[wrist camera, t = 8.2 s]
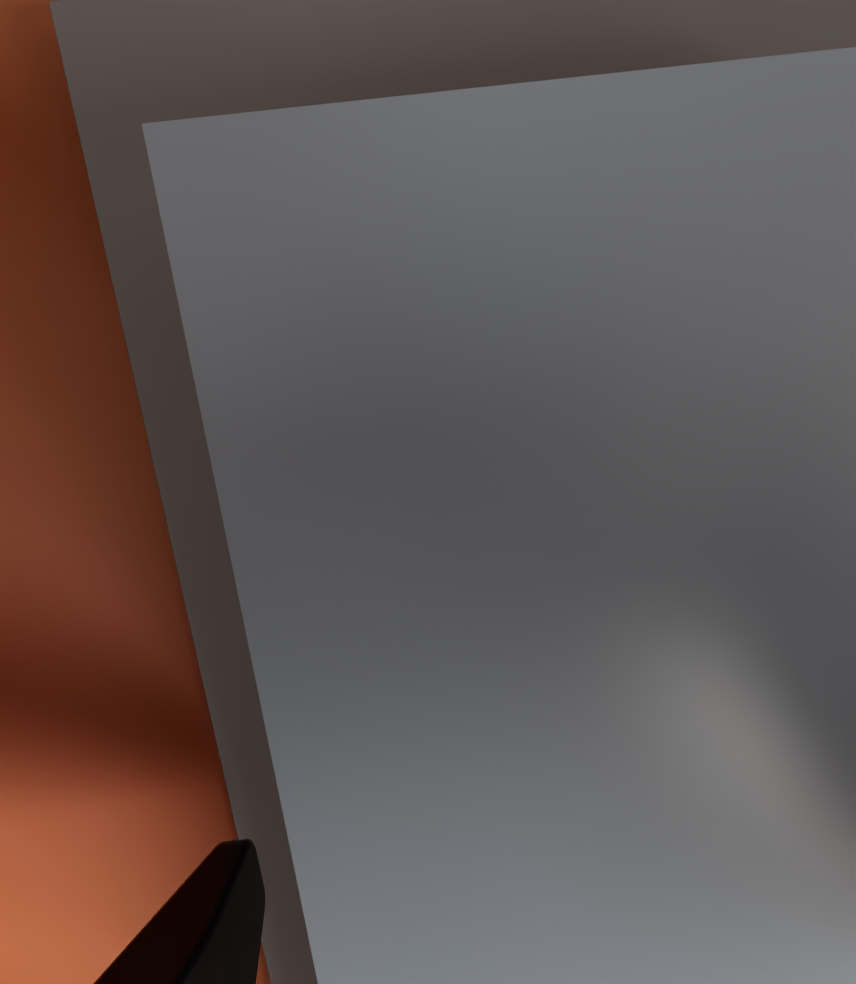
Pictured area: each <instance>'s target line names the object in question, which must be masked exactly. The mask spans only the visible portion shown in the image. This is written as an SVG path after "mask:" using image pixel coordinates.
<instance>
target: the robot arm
mask: <svg viewBox="0 0 856 984" xmlns="http://www.w3.org/2000/svg"><path fill="white" fill-rule="evenodd" d="M264 913H265V888H264V883H263V878H262V874H261V869H260V865H259V860H258V856H257V851H256V847H255V845H254V843H253V841H252V840H250V839H240V840H232V841H224V842H221V843H220V844H218V845H217V846H216V847H215V848H214V849H213V850H212V851H211V852H210V854H209V855H208V856H207V857H206V858H205V859H204V860H203V861H202V863H201V864H200V865H199V866H198V867H197V868H196V869H195V870H194V872H193V873H192V874H191V875H190V876H189V877H188V878H187V879H186V880H185V882H184V883H183V884H182V885H181V886H180V887H179V888H178V889H177V891H176V892H175V893H174V894H173V895H172V896H171V897H170V898H169V900H168V901H167V902H166V903H165V904H164V905H163V906H162V907H161V909H160V910H159V911H158V912H157V913H156V914H155V915H154V916H153V917H152V919H151V920H150V921H149V922H148V923H147V924H146V925H145V926H144V928H143V929H142V930H141V931H140V932H139V933H138V934H137V935H136V937H135V938H134V939H133V940H132V941H131V942H130V943H129V944H128V945H127V947H126V948H125V949H124V950H123V951H122V952H121V953H120V954H119V956H118V957H117V958H116V959H115V960H114V961H113V962H112V963H111V965H110V966H109V967H108V968H107V969H106V970H105V971H104V972H103V974H102V975H101V976H100V977H99V978H98V979H97V980H96V981H95V982H94V984H256V976H257V968H258V960H259V952H260V944H261V937H262V929H263V921H264Z"/></svg>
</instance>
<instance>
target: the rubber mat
mask: <svg viewBox="0 0 856 984" xmlns="http://www.w3.org/2000/svg"><path fill="white" fill-rule="evenodd" d="M49 5H50V9H51V14H52V18H53V23H54V27H55V32H56V36H57V40H58V45H59V49H60V54H61V58H62V62H63V67H64V71H65V76H66V80H67V85H68V89H69V93H70V98H71V102H72V107H73V111H74V115H75V120H76V124H77V129H78V133H79V138H80V142H81V146H82V151H83V155H84V160H85V164H86V169H87V173H88V177H89V182H90V186H91V191H92V195H93V199H94V204H95V208H96V213H97V217H98V222H99V226H100V230H101V235H102V239H103V244H104V248H105V252H106V257H107V261H108V266H109V270H110V275H111V279H112V283H113V288H114V292H115V297H116V301H117V306H118V310H119V314H120V319H121V323H122V328H123V332H124V336H125V341H126V345H127V350H128V354H129V359H130V363H131V367H132V372H133V376H134V381H135V385H136V389H137V394H138V398H139V403H140V407H141V412H142V416H143V420H144V425H145V429H146V434H147V438H148V442H149V447H150V451H151V456H152V460H153V465H154V469H155V473H156V478H157V482H158V487H159V491H160V496H161V500H162V504H163V509H164V513H165V518H166V522H167V526H168V531H169V535H170V540H171V544H172V549H173V553H174V557H175V562H176V566H177V571H178V575H179V580H180V584H181V588H182V593H183V597H184V602H185V606H186V610H187V615H188V619H189V624H190V628H191V633H192V637H193V641H194V646H195V650H196V655H197V659H198V663H199V668H200V672H201V677H202V681H203V686H204V690H205V694H206V699H207V703H208V708H209V712H210V717H211V721H212V725H213V730H214V734H215V739H216V743H217V747H218V752H219V756H220V761H221V765H222V770H223V774H224V778H225V783H226V787H227V792H228V796H229V800H230V805H231V809H232V814H233V818H234V823H235V827H236V831H237V836H238V840H240V839H250V840H252V841H253V843H254V845H255V847H256V851H257V856H258V860H259V865H260V869H261V874H262V878H263V883H264V888H265V913H264V921H263V929H262V937H261V942H262V946H263V951H264V955H265V960H266V964H267V968H268V973H269V977H270V982H271V984H318V982H317V977H316V972H315V967H314V962H313V957H312V952H311V948H310V943H309V938H308V933H307V928H306V923H305V918H304V913H303V909H302V904H301V899H300V894H299V889H298V884H297V879H296V874H295V870H294V865H293V860H292V855H291V850H290V845H289V840H288V835H287V831H286V826H285V821H284V816H283V811H282V806H281V801H280V796H279V792H278V787H277V782H276V777H275V772H274V767H273V762H272V757H271V753H270V748H269V743H268V738H267V733H266V728H265V723H264V718H263V714H262V709H261V704H260V699H259V694H258V689H257V684H256V679H255V675H254V670H253V665H252V660H251V655H250V650H249V645H248V640H247V636H246V631H245V626H244V621H243V616H242V611H241V606H240V601H239V597H238V592H237V587H236V582H235V577H234V572H233V567H232V562H231V558H230V553H229V548H228V543H227V538H226V533H225V528H224V523H223V518H222V514H221V509H220V504H219V499H218V494H217V489H216V484H215V479H214V475H213V470H212V465H211V460H210V455H209V450H208V445H207V440H206V436H205V431H204V426H203V421H202V416H201V411H200V406H199V401H198V397H197V392H196V387H195V382H194V377H193V372H192V367H191V362H190V358H189V353H188V348H187V343H186V338H185V333H184V328H183V323H182V319H181V314H180V309H179V304H178V299H177V294H176V289H175V284H174V280H173V275H172V270H171V265H170V260H169V255H168V250H167V245H166V241H165V236H164V231H163V226H162V221H161V216H160V211H159V206H158V202H157V197H156V192H155V187H154V182H153V177H152V172H151V167H150V162H149V158H148V153H147V148H146V143H145V138H144V133H143V128H142V124H143V123H152V122H162V121H171V120H180V119H189V118H199V117H208V116H217V115H227V114H236V113H245V112H255V111H264V110H273V109H283V108H292V107H301V106H311V105H320V104H329V103H338V102H348V101H357V100H366V99H376V98H385V97H394V96H404V95H413V94H422V93H432V92H441V91H450V90H460V89H469V88H478V87H487V86H497V85H506V84H515V83H525V82H534V81H543V80H553V79H562V78H571V77H581V76H590V75H599V74H608V73H618V72H627V71H636V70H646V69H655V68H664V67H674V66H683V65H692V64H702V63H711V62H720V61H729V60H739V59H748V58H757V57H767V56H776V55H785V54H795V53H804V52H813V51H823V50H832V49H841V48H851V47H856V0H57V1H49Z"/></svg>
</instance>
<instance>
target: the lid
mask: <svg viewBox="0 0 856 984" xmlns="http://www.w3.org/2000/svg"><path fill="white" fill-rule="evenodd" d="M142 128H143V133H144V138H145V143H146V148H147V153H148V158H149V162H150V167H151V172H152V177H153V182H154V187H155V192H156V197H157V202H158V206H159V211H160V216H161V221H162V226H163V231H164V236H165V241H166V245H167V250H168V255H169V260H170V265H171V270H172V275H173V280H174V284H175V289H176V294H177V299H178V304H179V309H180V314H181V319H182V323H183V328H184V333H185V338H186V343H187V348H188V353H189V358H190V362H191V367H192V372H193V377H194V382H195V387H196V392H197V397H198V401H199V406H200V411H201V416H202V421H203V426H204V431H205V436H206V440H207V445H208V450H209V455H210V460H211V465H212V470H213V475H214V479H215V484H216V489H217V494H218V499H219V504H220V509H221V514H222V518H223V523H224V528H225V533H226V538H227V543H228V548H229V553H230V558H231V562H232V567H233V572H234V577H235V582H236V587H237V592H238V597H239V601H240V606H241V611H242V616H243V621H244V626H245V631H246V636H247V640H248V645H249V650H250V655H251V660H252V665H253V670H254V675H255V679H256V684H257V689H258V694H259V699H260V704H261V709H262V714H263V718H264V723H265V728H266V733H267V738H268V743H269V748H270V753H271V757H272V762H273V767H274V772H275V777H276V782H277V787H278V792H279V796H280V801H281V806H282V811H283V816H284V821H285V826H286V831H287V835H288V840H289V845H290V850H291V855H292V860H293V865H294V870H295V874H296V879H297V884H298V889H299V894H300V899H301V904H302V909H303V913H304V918H305V923H306V928H307V933H308V938H309V943H310V948H311V952H312V957H313V962H314V967H315V972H316V977H317V982H318V984H856V47H851V48H841V49H832V50H823V51H813V52H804V53H795V54H785V55H776V56H767V57H757V58H748V59H739V60H729V61H720V62H711V63H702V64H692V65H683V66H674V67H664V68H655V69H646V70H636V71H627V72H618V73H608V74H599V75H590V76H581V77H571V78H562V79H553V80H543V81H534V82H525V83H515V84H506V85H497V86H487V87H478V88H469V89H460V90H450V91H441V92H432V93H422V94H413V95H404V96H394V97H385V98H376V99H366V100H357V101H348V102H338V103H329V104H320V105H311V106H301V107H292V108H283V109H273V110H264V111H255V112H245V113H236V114H227V115H217V116H208V117H199V118H189V119H180V120H171V121H162V122H152V123H143V124H142Z"/></svg>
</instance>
